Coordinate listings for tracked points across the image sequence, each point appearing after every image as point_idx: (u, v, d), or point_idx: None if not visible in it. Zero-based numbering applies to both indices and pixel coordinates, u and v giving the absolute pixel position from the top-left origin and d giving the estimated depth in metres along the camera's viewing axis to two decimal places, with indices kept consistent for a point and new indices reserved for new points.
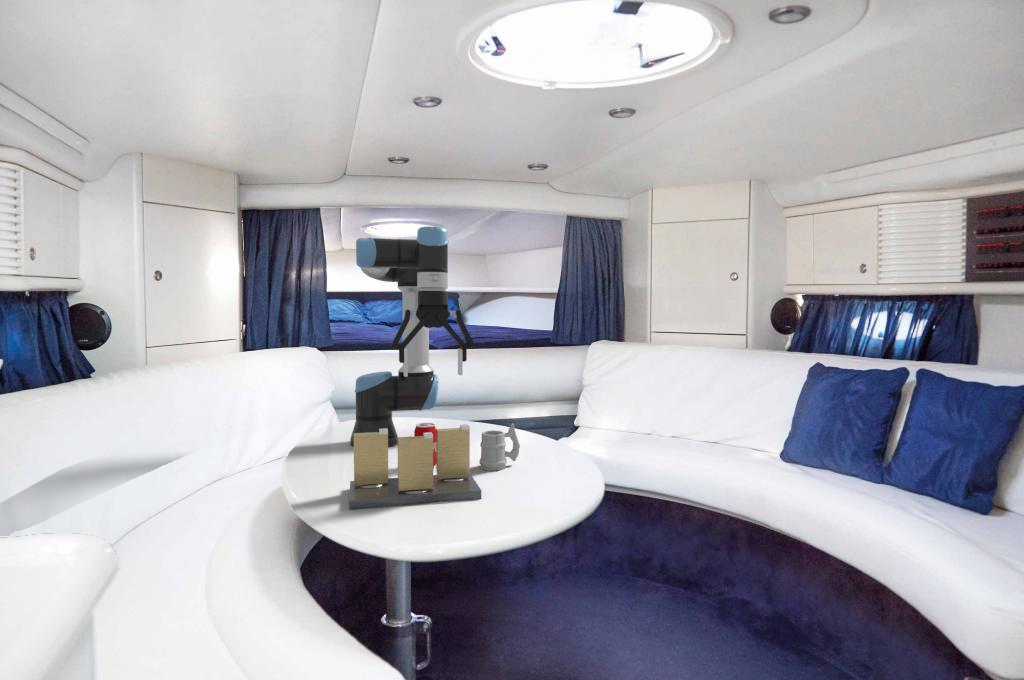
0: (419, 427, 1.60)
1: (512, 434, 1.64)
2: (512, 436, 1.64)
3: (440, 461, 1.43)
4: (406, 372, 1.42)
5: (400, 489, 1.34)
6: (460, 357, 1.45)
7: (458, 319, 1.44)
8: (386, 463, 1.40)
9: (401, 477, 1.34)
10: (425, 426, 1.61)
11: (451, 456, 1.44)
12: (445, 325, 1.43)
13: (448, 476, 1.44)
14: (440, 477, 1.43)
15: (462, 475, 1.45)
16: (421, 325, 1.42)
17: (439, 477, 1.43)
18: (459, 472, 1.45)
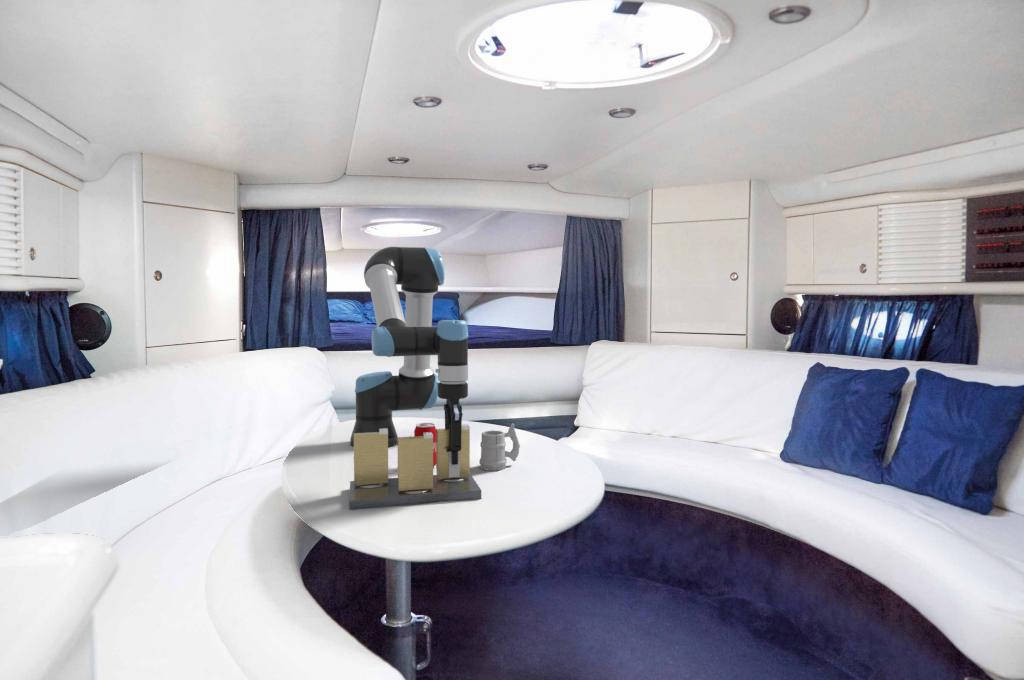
0: (419, 427, 1.60)
1: (512, 434, 1.64)
2: (512, 436, 1.64)
3: (440, 461, 1.43)
4: None
5: (400, 489, 1.34)
6: (448, 459, 1.43)
7: (451, 420, 1.40)
8: (386, 463, 1.40)
9: (401, 477, 1.34)
10: (425, 426, 1.61)
11: None
12: (446, 419, 1.43)
13: None
14: (440, 477, 1.43)
15: (462, 475, 1.45)
16: (445, 417, 1.46)
17: (439, 477, 1.43)
18: None
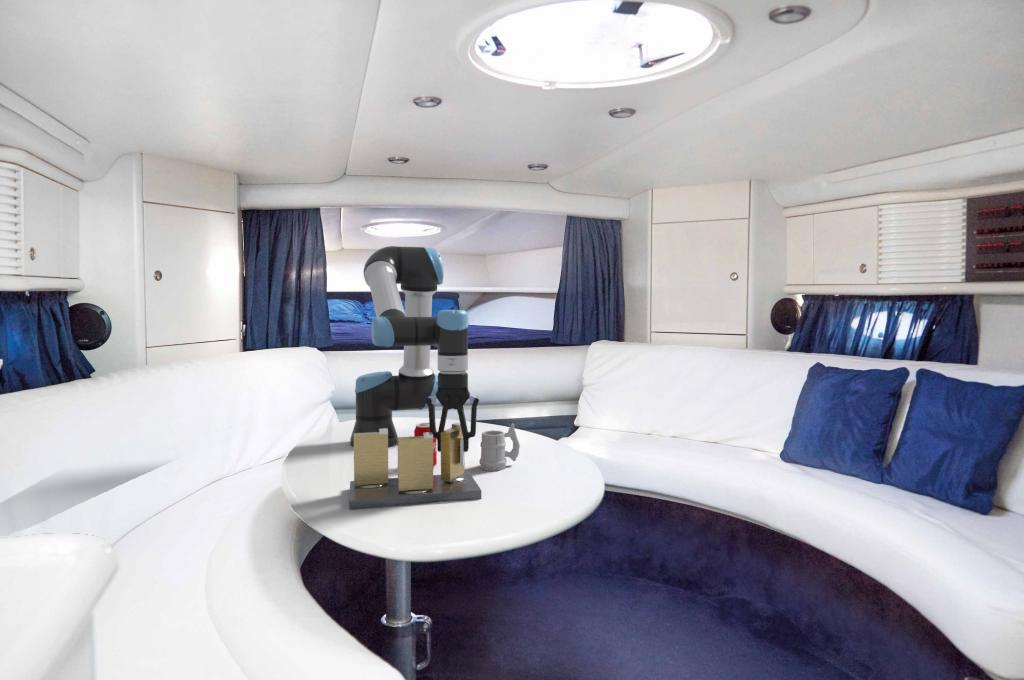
0: (419, 427, 1.60)
1: (512, 434, 1.64)
2: (512, 436, 1.64)
3: (451, 463, 1.42)
4: None
5: (400, 489, 1.34)
6: (461, 448, 1.44)
7: (472, 406, 1.43)
8: (386, 463, 1.40)
9: (401, 477, 1.34)
10: (425, 426, 1.61)
11: (456, 456, 1.44)
12: (458, 409, 1.43)
13: (455, 476, 1.44)
14: (451, 479, 1.42)
15: (461, 472, 1.47)
16: (445, 409, 1.43)
17: (451, 479, 1.42)
18: (460, 470, 1.46)
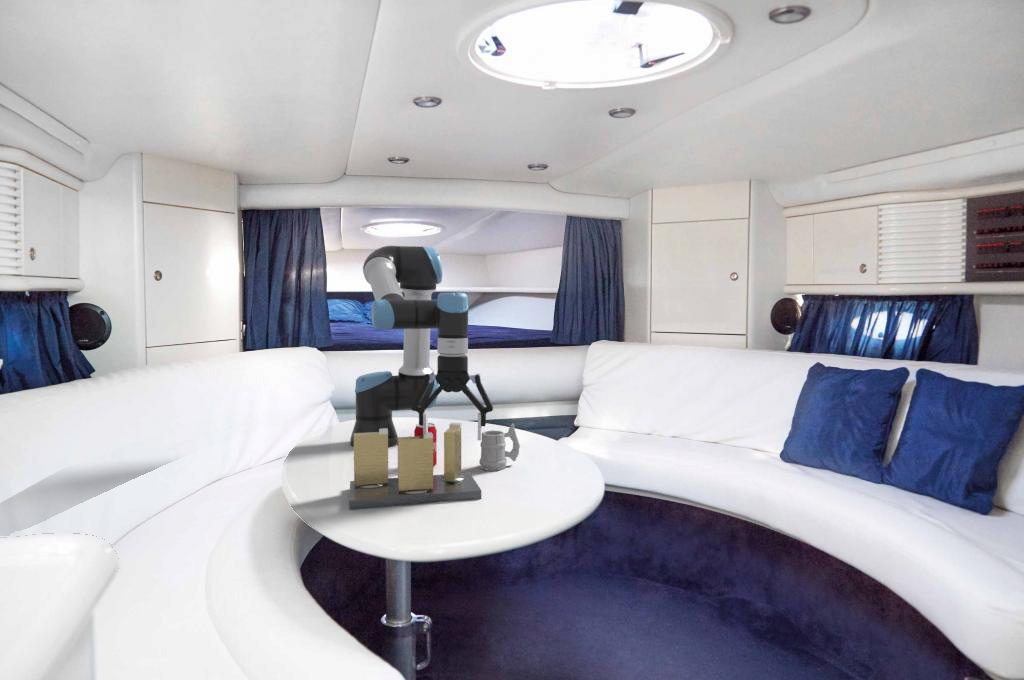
0: (419, 427, 1.60)
1: (512, 434, 1.64)
2: (512, 436, 1.64)
3: (455, 462, 1.42)
4: None
5: (400, 489, 1.34)
6: (478, 422, 1.44)
7: (477, 384, 1.43)
8: (386, 463, 1.40)
9: (401, 477, 1.34)
10: None
11: (457, 456, 1.45)
12: (463, 390, 1.43)
13: (456, 476, 1.44)
14: (455, 479, 1.42)
15: (459, 472, 1.48)
16: (439, 390, 1.43)
17: (454, 479, 1.42)
18: (459, 470, 1.47)
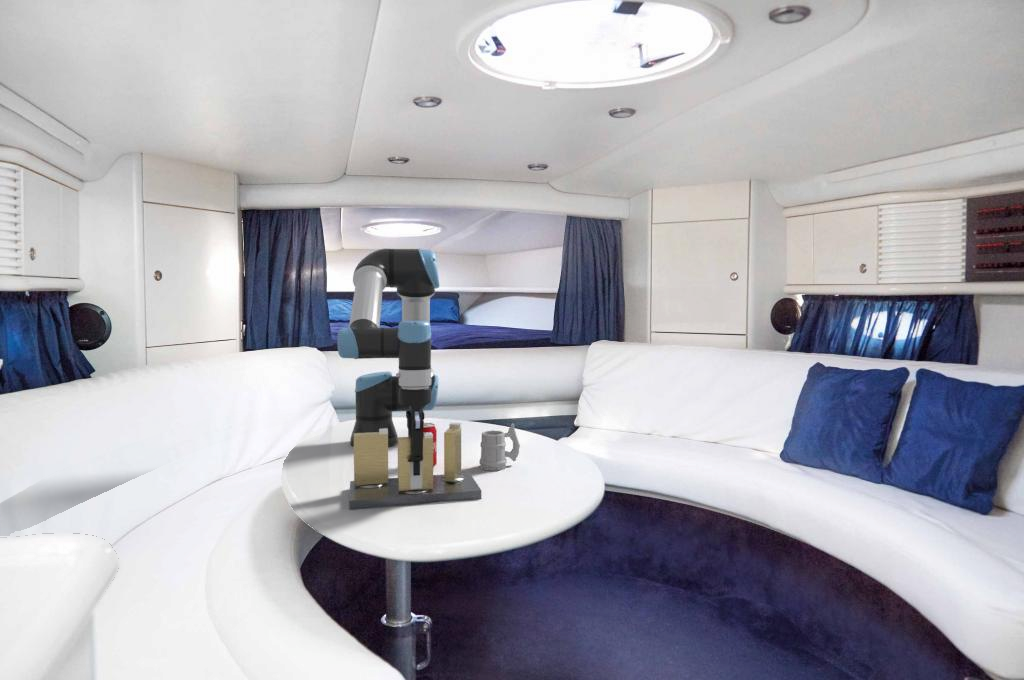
0: None
1: (512, 434, 1.64)
2: (512, 436, 1.64)
3: (455, 462, 1.42)
4: None
5: (400, 489, 1.34)
6: (410, 469, 1.34)
7: (411, 428, 1.30)
8: (386, 463, 1.40)
9: (401, 477, 1.34)
10: (425, 426, 1.61)
11: (457, 456, 1.45)
12: (408, 427, 1.34)
13: (456, 476, 1.44)
14: (455, 479, 1.42)
15: (459, 472, 1.48)
16: (407, 425, 1.36)
17: (455, 479, 1.42)
18: (459, 470, 1.47)
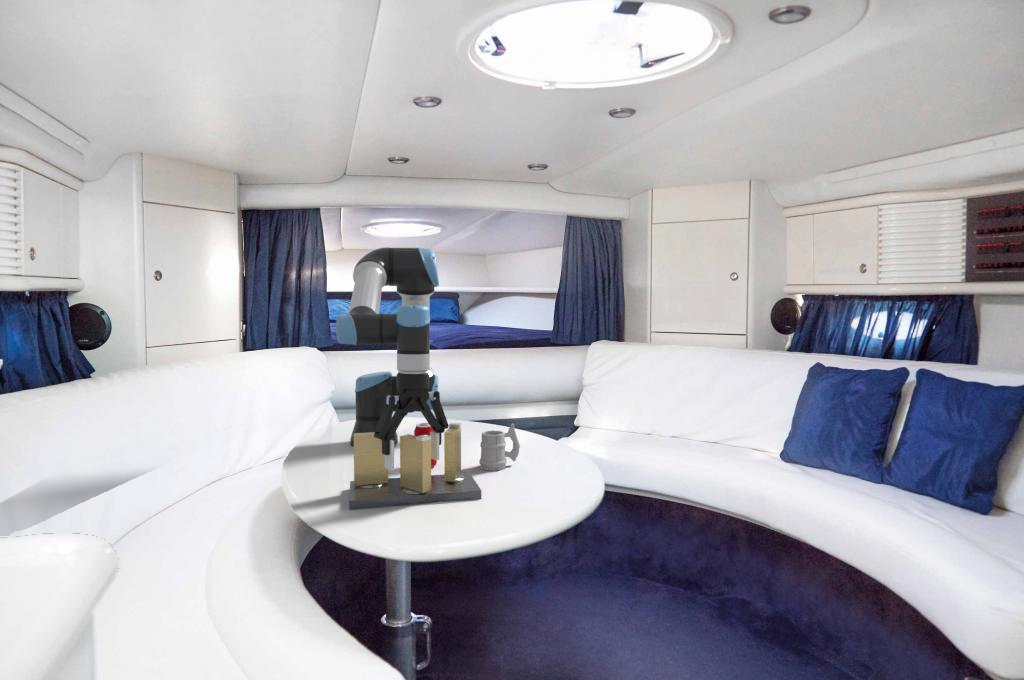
0: (419, 427, 1.60)
1: (512, 434, 1.64)
2: (512, 436, 1.64)
3: (455, 462, 1.42)
4: None
5: (401, 484, 1.38)
6: None
7: None
8: None
9: (402, 473, 1.37)
10: (425, 426, 1.61)
11: (457, 456, 1.45)
12: None
13: (457, 476, 1.44)
14: (455, 479, 1.42)
15: (459, 472, 1.48)
16: None
17: (455, 479, 1.42)
18: (459, 470, 1.47)
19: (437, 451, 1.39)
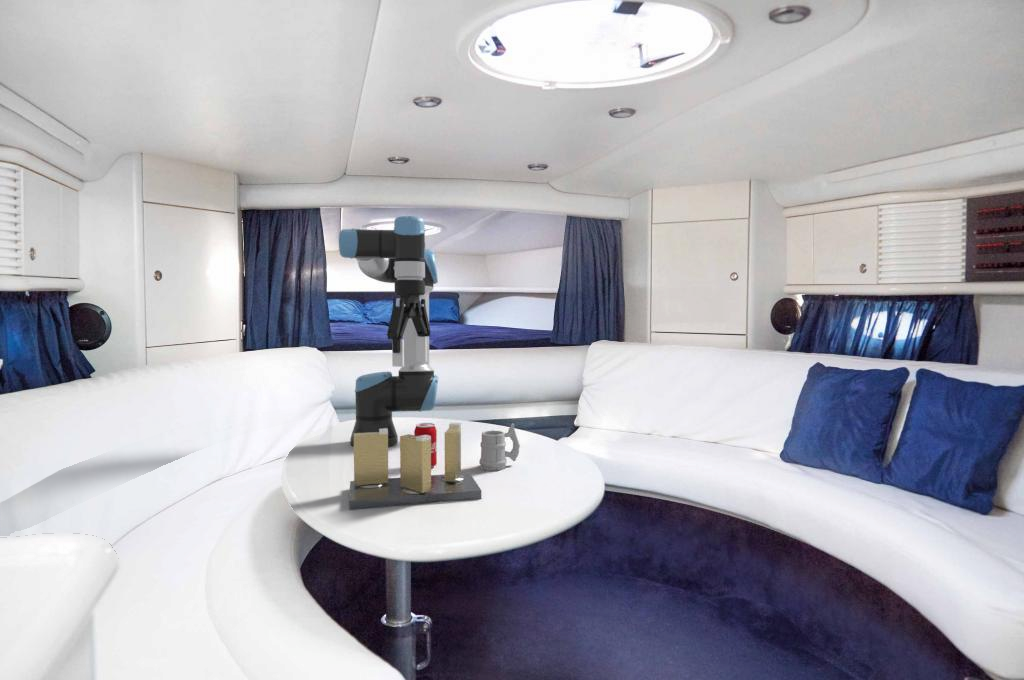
0: (419, 427, 1.60)
1: (512, 434, 1.64)
2: (512, 436, 1.64)
3: (455, 462, 1.42)
4: None
5: (401, 484, 1.38)
6: None
7: None
8: (386, 463, 1.40)
9: (402, 472, 1.37)
10: (425, 426, 1.61)
11: (457, 456, 1.45)
12: None
13: (457, 476, 1.44)
14: (455, 479, 1.42)
15: (459, 472, 1.48)
16: None
17: (455, 479, 1.42)
18: (459, 470, 1.47)
19: (425, 353, 1.52)
